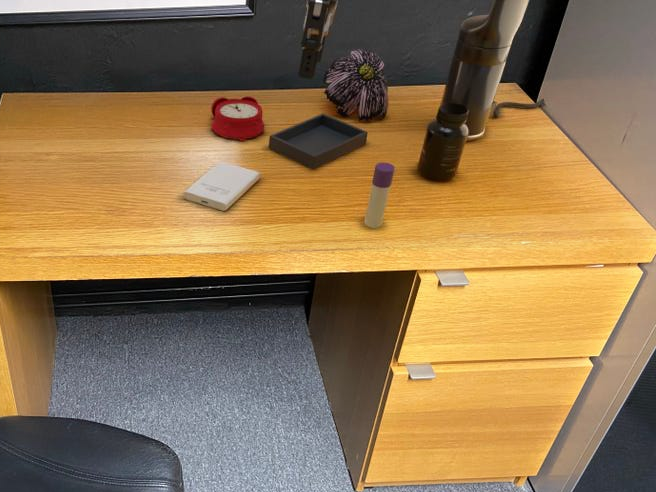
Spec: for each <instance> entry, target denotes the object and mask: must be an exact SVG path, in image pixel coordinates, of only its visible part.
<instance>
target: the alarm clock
mask: <svg viewBox="0 0 656 492" xmlns="http://www.w3.org/2000/svg"><path fill="white" fill-rule="evenodd" d="M262 108H263V107H262V106H261V105H260V104H259V102H258V100H257V99H256V98H255V97H253V96H250V95H247V96H243V97H241V98H227V97H223V96H222V97H218V98H216V99H214V100H213V102H212V103H211V107H210V109H211V114H212V116H213V117H214V119H213V121H212V122H211V128H212V131H213V132H214V133H215V134H217V135H218V136H221V137H224V138H227V139H234V140H239V142H240V143H241V142H246V139H250V138H254V137H257V136H259V135H261V134H262V133H263V132H264V131H265V123H264V121H263V113H264V112H263V111H264V110H263V109H262Z"/></svg>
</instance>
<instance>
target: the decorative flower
mask: <svg viewBox="0 0 656 492" xmlns="http://www.w3.org/2000/svg"><path fill="white" fill-rule="evenodd" d="M384 68H385V63H384V61H383V60H382V58H381V57H380V56H379V55H378V54H377V53H376V52H374V51H372V50H369V49H364V48H363V49H362V48H361V49H359V48H358V49H355V50H352V51H351V50H350V52H349V55H345V56H341V57H339V58H336V59H335V60H334V61H332V63H331V64H330V67H328V68H327V70H326V71H325V72H324V76H323V84H326V85H328V86H327V87H326V88H325V90H324V92H323V94H324V95H326V100H328V101H329V103H332V104H333V105H334V106H335V107H336V110H337V111H336V114H338V115H339V116H340V117H342V118H347V117H349V116H351V115H352V114H353V113H355V111H356V110H358V111H357V117H358V122H361V121H363V120H364V121H367V122H369V121H372V120H373V119H374V118H375V119H376V118H379V117H380V120H383V119H385V117H386V116H387V113H388V108H389V94H388V92H389V84H388V78H387V76H386V74H385V72H384V70H383V69H384Z"/></svg>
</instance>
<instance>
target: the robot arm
mask: <svg viewBox="0 0 656 492" xmlns="http://www.w3.org/2000/svg"><path fill="white" fill-rule="evenodd" d="M529 2H530V0H493V4H492V6H491V9H490V11H489V13H488V14H481V15H475V16H471V17H468V18H466V19H464V20H463V22H462V23H461V25H460V28H459V33H458V36H457V40H456V43H455V48H454V52H453V54H452V55H453V56H452V59H451V63H450V67H449V71H448V74H447V78H446V82H445V85H444V90H443V93H442V98H441V101H440V104H439V107H440V106H441V105H442V104H445V103H456V104H460V105H463V106H465V107H466V108H468V115H467V120H466V122H465V124H466V125H467V127H468V131H469V132H468V136H467V140H466V142H470V141H476V140H480V139H481V138H482V137H483V136H484V134H485V131H486V126H487V124H488V120H489V117H491V116H493V117H495V118H499V117H500V108H501V107H516V108H526V109H529V108H530V109H532V108H536V107H539V106H541V105H543V104H544V103H545V102H546V101H544V99H543V98H541V100H539V101H538V102H535V103H521V102H515V101H506V102H505V101H504V102H500V103H498V104H497V102H496V101H495V98H496V95H497V93H498V92H497V91H498V88H499V86H500V82H501V78H502V76H503V73H504V69H505V66H506V63H507V59H508V56H509V53H510V49H511V47H512V43H513V39H514V37H515V35H516V33H517V31H518V29H519V28H520V26H521V23H522V21H523V19H524V16H525V13H526V10H527V8H528V5H529ZM338 3H339V0H306V3H305V12H306V13H305V16H304V22H303V25H302V31H303V35H302V39H301V41H300V46H301V49H302V53H301V59H300V63H299V68H298V77H299V78H303V79H306V80H307V79H308V80H312V79H314V78H315V75H316V70H317V65H318V63H320V62H321V61H322V58H323V53H324V48H325V42H326V37H327V35H328V33H329V32H330V26H331V25H332V24H333V22H334V17H335V13H336V11H337V7H338Z"/></svg>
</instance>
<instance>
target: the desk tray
mask: <svg viewBox="0 0 656 492" xmlns="http://www.w3.org/2000/svg"><path fill="white" fill-rule="evenodd" d="M368 135H369V132H368V131H367V130H364V129H362V128H359V127H357V126H354V125H352V124H349V123H347V122H345V121H342V120H340V119H337V118H335V117H332V116H330V115H328V114H325V113H323V112H322V113H320V114H317V115H315V116H313V117H311V118H308V119H306V120H303V121H301V122H299V123H297V124H294V125H291V126H290V127H287V128H285V129H281V130H280V131H278V132H275V133H273V134H271V135H269V138H268V149H269V150H271V151H274V152H275V153H277V154H280V155H282V156H284V157H286V158H288V159H290V160H293V161H294V162H297V163H299V164H300V165H303V166H305V167H307V168H309V169H311V170H315V169H318V168H320V167H321V166H323V165H325V164H327V163H330V162H332V161H334V160H336V159H338V158H340V157H342V156H345V155H347V154H348V153H350V152H353V151H355V150H357V149H359V148H362V147H363V146H366V144H367V139H368Z"/></svg>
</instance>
